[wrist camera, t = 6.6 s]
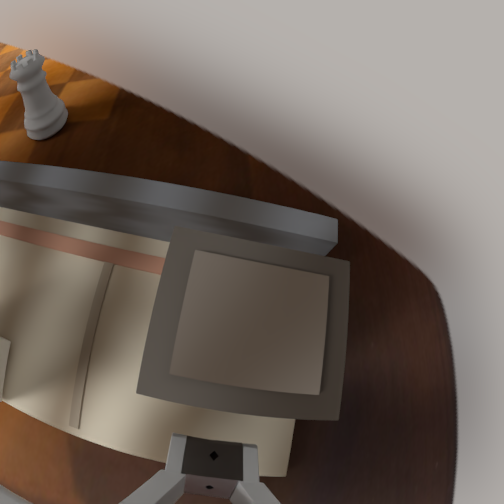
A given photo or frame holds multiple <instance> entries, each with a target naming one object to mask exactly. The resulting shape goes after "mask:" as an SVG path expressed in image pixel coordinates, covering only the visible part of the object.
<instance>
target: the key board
mask: <svg viewBox="0 0 504 504" xmlns="http://www.w3.org/2000/svg"><path fill="white" fill-rule="evenodd" d="M174 226H179V227H184V228H189V229H194V230H199V231H204V232H209V233H214V234H219V235H224V236H229V237H234V238H239V239H244V240H249V241H254V242H259V243H264V244H269V245H274V246H278V247H283V248H288V249H293V250H298V251H303V252H307V253H312V254H317V255H322V256H326V255H327V254H328V252H329V251H330V250H331V249H332V248H333V247H334V246H335V245H336V244H337V243H338V219H335V218H331V217H327V216H323V215H319V214H315V213H311V212H306V211H302V210H298V209H293V208H289V207H285V206H280V205H276V204H271V203H267V202H262V201H257V200H253V199H248V198H243V197H238V196H234V195H229V194H224V193H219V192H214V191H208V190H203V189H198V188H193V187H187V186H182V185H176V184H170V183H165V182H159V181H153V180H147V179H141V178H135V177H128V176H122V175H115V174H109V173H102V172H95V171H87V170H80V169H72V168H64V167H56V166H48V165H39V164H29V163H19V162H8V161H0V337H2V338H4V339H6V340H9V341H11V344H10V349H9V354H8V359H7V365H6V371H5V378H4V385H3V393H2V401H4V402H5V403H7V404H9V405H11V406H13V407H15V408H16V409H18V410H20V411H22V412H24V413H26V414H28V415H30V416H32V417H34V418H36V419H38V420H40V421H42V422H44V423H47V424H49V425H51V426H53V427H56V428H58V429H60V430H63V431H65V432H67V433H70V434H72V435H75V436H77V437H80V438H83V439H85V440H88V441H91V442H94V443H96V444H99V445H102V446H105V447H108V448H111V449H115V450H118V451H121V452H125V453H128V454H132V455H135V456H139V457H143V458H147V459H151V460H155V461H159V462H164V463H166V462H167V456H168V451H169V446H170V441H171V436H172V433H178V434H183V435H187V436H193V437H198V438H205V439H211V440H220V441H229V442H239V443H247V444H256V445H257V447H258V464H259V476H272V477H286V472H287V467H288V461H289V455H290V449H291V443H292V437H293V431H294V424H295V419H286V418H274V417H263V416H254V415H245V414H237V413H230V412H223V411H217V410H211V409H205V408H199V407H194V406H189V405H184V404H179V403H174V402H170V401H165V400H161V399H157V398H152V397H148V396H144V395H141V394H137V393H136V390H137V384H138V378H139V373H140V368H141V362H142V357H143V352H144V347H145V342H146V338H147V333H148V328H149V324H150V319H151V315H152V310H153V306H154V302H155V298H156V294H157V290H158V285H159V281H160V278H161V274H162V270H163V266H164V262H165V258H166V255H167V251H168V247H169V244H170V240H171V237H172V233H173V230H174ZM186 439H187V438H186Z"/></svg>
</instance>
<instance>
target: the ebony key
mask: <svg viewBox="0 0 504 504" xmlns="http://www.w3.org/2000/svg"><path fill="white" fill-rule="evenodd" d="M349 286H350V261H345V260H341V259H336V258H331V257H326V256H322V255H317V254H312V253H307V252H303V251H298V250H293V249H288V248H283V247H278V246H274V245H269V244H264V243H259V242H254V241H249V240H244V239H239V238H234V237H229V236H224V235H219V234H214V233H209V232H204V231H199V230H194V229H189V228H184V227H179V226H174V230H173V233H172V237H171V240H170V244H169V247H168V251H167V255H166V258H165V262H164V266H163V270H162V274H161V278H160V281H159V285H158V290H157V294H156V298H155V302H154V306H153V310H152V315H151V319H150V324H149V328H148V333H147V338H146V342H145V347H144V352H143V357H142V362H141V368H140V373H139V378H138V384H137V390H136V393H137V394H141V395H144V396H148V397H152V398H157V399H161V400H165V401H170V402H174V403H179V404H184V405H189V406H194V407H199V408H205V409H211V410H217V411H223V412H230V413H237V414H245V415H254V416H263V417H274V418H286V419H303V420H339V413H340V406H341V397H342V389H343V379H344V369H345V358H346V345H347V331H348V312H349Z"/></svg>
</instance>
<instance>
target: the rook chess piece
mask: <svg viewBox="0 0 504 504" xmlns="http://www.w3.org/2000/svg"><path fill="white" fill-rule="evenodd" d="M16 59H17V63H16V62H15V61H12V63H11V66H10V67H11V73H10V78H11V79H13V80H15V81H17V83H18V86H17V90H18V91H20V92H21V94H22V97H23V101H24V105H25V113H24V115H25V119H24V126H25V129H26V130H27V136H28V137H30V138H31V139H34V140H44V139H47V138H49V137H51V136H53V135H55V134H56V133H57V132H58V131H59V130H61V128H62V127H63V126H64V124H65V122H66V120H67V116H68V111H67V109H66V108H65V104H64V102H63V101H62V100H61V99H59V98H57V96H56V95H54V94H53V93H52V92H51V90H50V88H49V86H48V84H47V82H46V79H45V76H46V72H45V71H43V70H42V65H43V62H44V60H45V58H44V56H42V55H40V54H39V53H38V50H36V49H35V50H33V54H32V51H31V50H29V51H26V57H24V58H22V55H19V56H18V57H16Z"/></svg>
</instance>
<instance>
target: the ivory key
mask: <svg viewBox="0 0 504 504" xmlns="http://www.w3.org/2000/svg"><path fill="white" fill-rule="evenodd" d="M10 344H11V341H9V340H6V339H4V338H2V337H0V402H2V393H3V385H4V378H5V371H6V365H7V359H8V354H9V349H10Z"/></svg>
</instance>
